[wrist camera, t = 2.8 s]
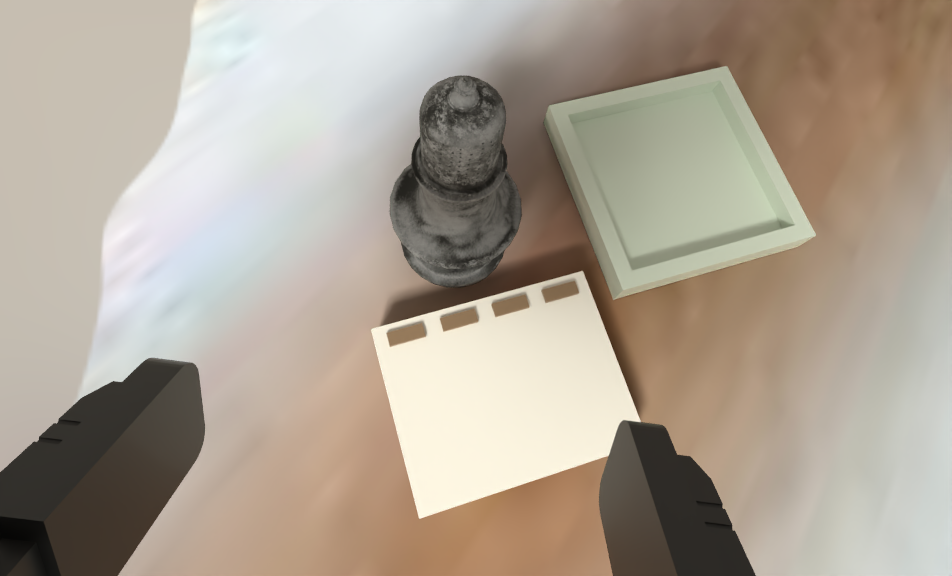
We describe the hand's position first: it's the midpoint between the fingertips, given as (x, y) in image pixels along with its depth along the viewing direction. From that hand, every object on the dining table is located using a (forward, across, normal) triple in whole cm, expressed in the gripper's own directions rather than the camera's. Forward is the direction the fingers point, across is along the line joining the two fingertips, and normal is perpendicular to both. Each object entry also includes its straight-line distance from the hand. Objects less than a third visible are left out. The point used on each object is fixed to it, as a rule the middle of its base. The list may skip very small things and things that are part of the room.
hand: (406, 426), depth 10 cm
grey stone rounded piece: (+18, 0, +3) cm, 18 cm away
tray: (+21, -11, 0) cm, 24 cm away
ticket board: (+12, -3, +8) cm, 15 cm away
